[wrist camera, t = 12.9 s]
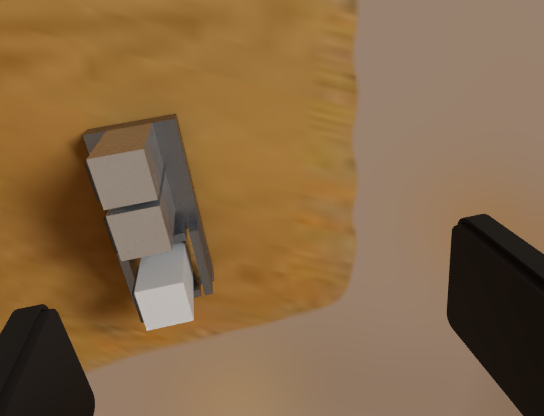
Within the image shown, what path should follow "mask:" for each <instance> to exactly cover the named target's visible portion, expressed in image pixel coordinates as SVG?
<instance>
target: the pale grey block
mask: <svg viewBox="0 0 544 416" xmlns="http://www.w3.org/2000/svg"><path fill="white" fill-rule="evenodd" d="M132 297H133V300H134V303H135V306H136V308H137V311H138V314H139V317H140V320H141V323H142V322H144V324H145V327H146V329H147V331H148V330H153V329H157V328H162V327H166V326H171V325H175V324H180V323H185V322H189V321H194V302H193V268H192V264H191V260H190V256H189V252H188V249H187V245H186V241H181V242H177V243H173V246H172V251H169V252H165V253H160V254H155V255H150V256H145V257H141V261H140V266H138V267H137V272H136V276H135V281H134V286H133V291H132Z"/></svg>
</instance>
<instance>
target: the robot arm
mask: <svg viewBox="0 0 544 416" xmlns="http://www.w3.org/2000/svg"><path fill="white" fill-rule="evenodd" d="M447 318H448V321H449V323H450V325H451V327H452V328H453V330H454V331H455V332H456V333H457V335H458V336H459V337H460V338H461V340H462V341H463V342H464V343H465V344H466V346H467V347H468V348H469V349H470V351H471V352H472V353H473V354H474V356H475V357H476V358H477V359H478V360H479V362H480V363H481V364H482V365H483V367H484V368H485V369H486V370H487V372H489V374H490V375H491V376H492V378H493V379H494V380H495V381H496V383H497V384H498V385H499V386H500V388H501V389H502V390H503V391H504V392H505V394H506V395H507V396H508V397H509V399H510V400H511V401H512V402H513V403H514V405H515V406H516V407H517V408H518V410H519V411H520V412H521V413H522V415H523V416H544V254H542V253H541V252H540V251H538V250H537V249H535V248H534V247H533V246H531V245H530V244H528V243H527V242H525V241H524V240H523V239H521V238H520V237H518V236H517V235H516V234H514V233H513V232H511V231H510V230H508V229H507V228H506V227H504V226H503V225H501V224H500V223H498V222H497V221H496V220H494V219H493V218H491V217H490V216H489V215H486V214H480V215H475V216H471V217H465V218H462V219H460V220H459V222H458V225H456V226H454V227H453V229H452V238H451V254H450V271H449V286H448V302H447ZM94 409H95V399H94V395H93V392H92V390H91V387H90V385H89V383H88V380H87V378H86V376H85V373H84V371H83V369H82V367H81V364H80V362H79V360H78V357H77V355H76V353H75V351H74V348H73V346H72V344H71V341H70V339H69V337H68V335H67V332H66V330H65V328H64V325H63V323H62V321H61V318H60V316H59V314H58V312H57V311H56V310H55V309H48V307H47V306H46V305H44V304H41V305H36V306H31V307H26V308H21V309H17V310H14V312H13V313H12V314H11V316H10V318H9V320H8V321H7V323H6V325H5V327H4V328H3V330H2V332H1V334H0V416H93V414H94Z"/></svg>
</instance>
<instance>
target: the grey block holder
mask: <svg viewBox="0 0 544 416" xmlns="http://www.w3.org/2000/svg"><path fill="white" fill-rule="evenodd" d="M83 138H84V141H85V144H86V147H87V150H88V153H89V156H88V158H87V159H86V160H87V162H86V163H85V167H86V170H87V173H88V176H89V179H90V182H91V184H92V187H93V190H94V193H95V196H96V199H97V202H101V204H102V207H103V210H108V211H107V213H106V216H105V218H104V222H105V225H106V228H107V231H108V233H109V236H110V239H111V242H112V245H113V248H114V251H115V253H117V256H118V259H119V262H120V265H121V268H122V271H123V274H124V277H125V279H126V282H127V285H128V288H129V291H130V294H131V297H132V291H133V286H134V281H135V276H136V272H137V267H138V266H140V261H141V257H145V256H150V255H155V254H160V253H165V252H169V251H172V246H173V243H177V242H181V241H186V245H187V249H188V252H189V256H190V260H191V264H192V268H193V298H195V297H199V296H201V283H202V285H203V289H204V293H205V295H208V294H213V286H212V281H214V272H213V267H212V263H211V258H210V254H209V250H208V246H207V242H206V237H205V233H204V229H203V225H202V221H201V216H200V212H199V208H198V204H197V200H196V195H195V191H194V187H193V183H192V179H191V175H190V170H189V166H188V162H187V158H186V154H185V149H184V145H183V141H182V137H181V133H180V128H179V124H178V120H177V116H176V114H172V115H167V116H161V117H156V118H150V119H144V120H139V121H133V122H128V123H122V124H116V125H111V126H105V127H100V128H94V129H88V130H87V131H86V132H85V133H84V134H83ZM132 300H133V297H132ZM133 303H134V300H133ZM134 305H135V303H134ZM135 308H136V306H135ZM136 310H137V308H136Z"/></svg>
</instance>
